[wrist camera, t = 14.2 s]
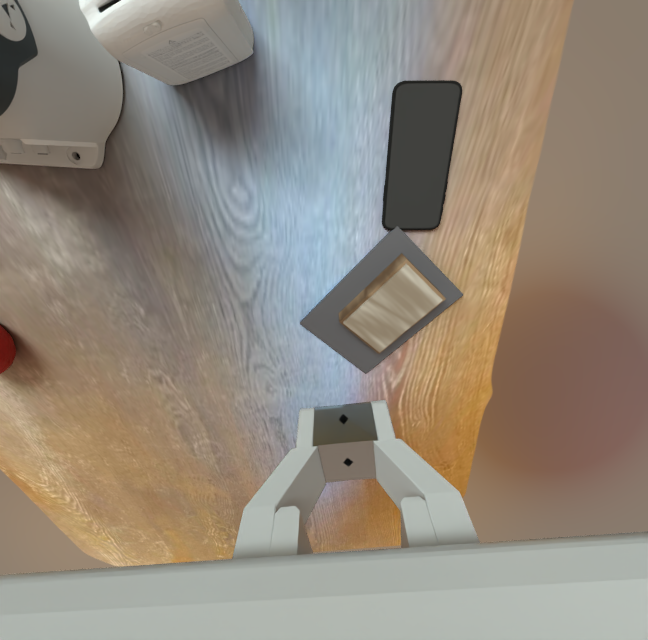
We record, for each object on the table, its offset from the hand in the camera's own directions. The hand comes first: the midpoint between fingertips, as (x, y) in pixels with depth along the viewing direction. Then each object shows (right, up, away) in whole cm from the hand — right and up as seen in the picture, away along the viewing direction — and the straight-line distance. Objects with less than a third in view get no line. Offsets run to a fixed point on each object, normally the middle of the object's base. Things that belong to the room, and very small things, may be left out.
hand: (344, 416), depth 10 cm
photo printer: (-13, +30, +19) cm, 38 cm away
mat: (+7, +5, +33) cm, 34 cm away
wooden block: (+4, +1, +32) cm, 33 cm away
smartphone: (+10, +22, +24) cm, 34 cm away
